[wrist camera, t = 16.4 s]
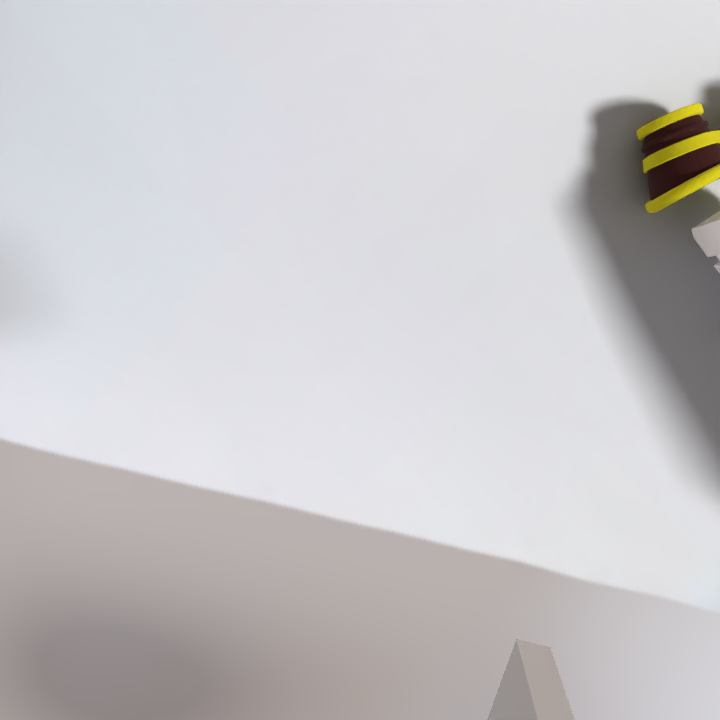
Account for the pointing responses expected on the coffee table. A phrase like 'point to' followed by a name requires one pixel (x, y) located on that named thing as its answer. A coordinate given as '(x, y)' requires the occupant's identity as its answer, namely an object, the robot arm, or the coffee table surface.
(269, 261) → the coffee table surface
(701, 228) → the shelf bracket
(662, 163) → the opera glasses
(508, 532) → the coffee table surface
